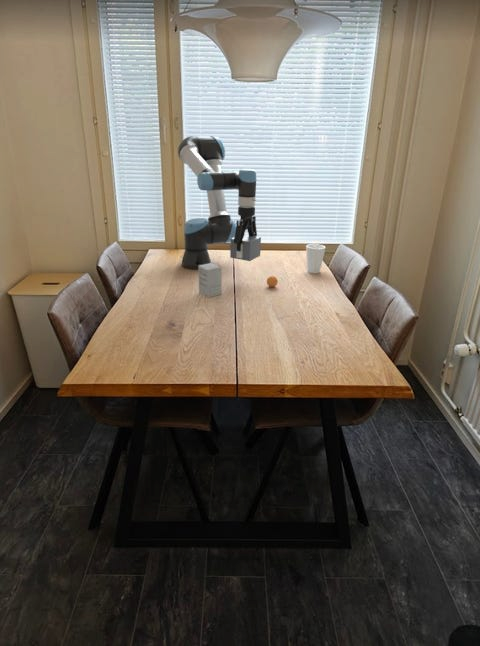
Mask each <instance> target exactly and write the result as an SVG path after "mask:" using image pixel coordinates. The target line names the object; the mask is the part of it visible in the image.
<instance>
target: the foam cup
mask: <svg viewBox="0 0 480 646" xmlns="http://www.w3.org/2000/svg"><path fill="white" fill-rule="evenodd" d="M305 252H306V253H305V254H306V256H305V257H306V271H307V273H310V274H319V273H320V272H321V267H322V264H323V259H324V255H325V252H326V246H325V245H323V244H317V243H308V244H307V245H305Z"/></svg>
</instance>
